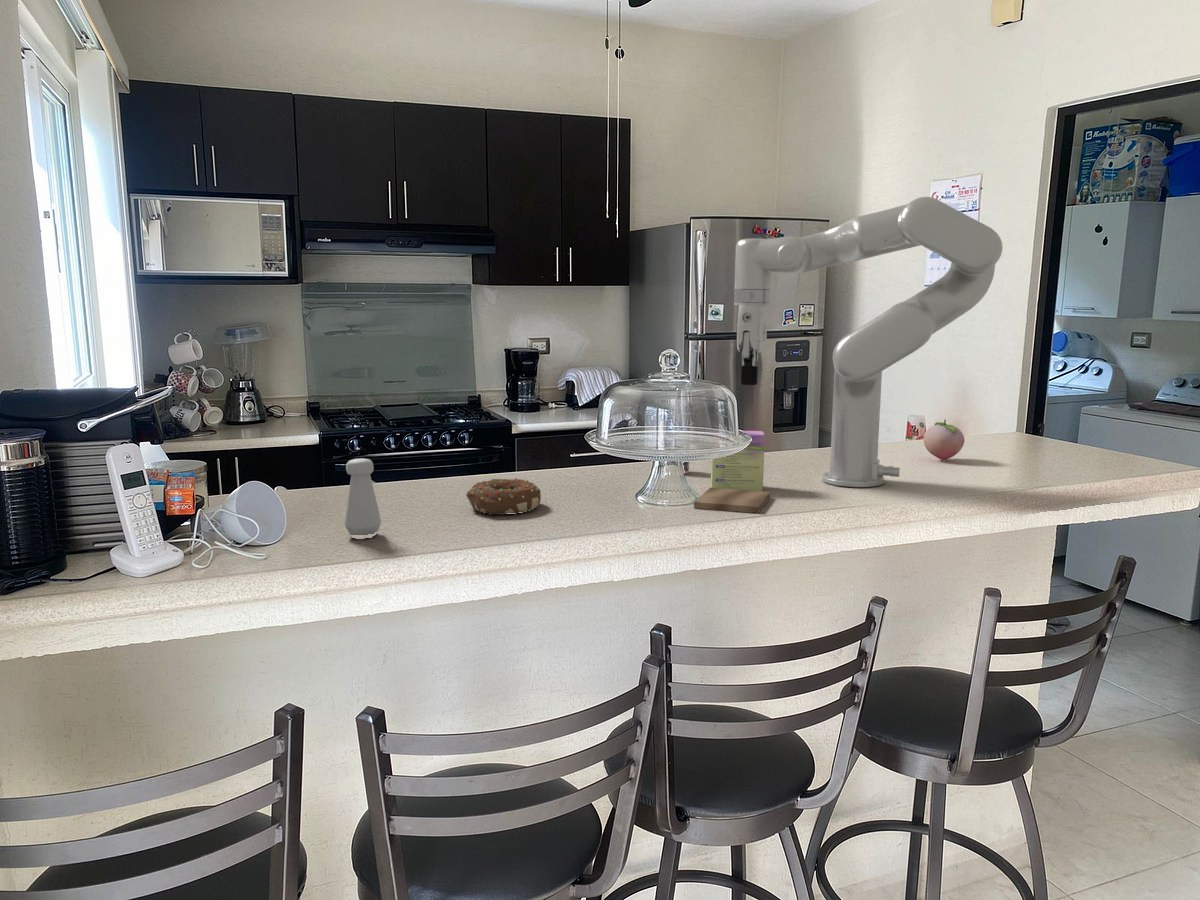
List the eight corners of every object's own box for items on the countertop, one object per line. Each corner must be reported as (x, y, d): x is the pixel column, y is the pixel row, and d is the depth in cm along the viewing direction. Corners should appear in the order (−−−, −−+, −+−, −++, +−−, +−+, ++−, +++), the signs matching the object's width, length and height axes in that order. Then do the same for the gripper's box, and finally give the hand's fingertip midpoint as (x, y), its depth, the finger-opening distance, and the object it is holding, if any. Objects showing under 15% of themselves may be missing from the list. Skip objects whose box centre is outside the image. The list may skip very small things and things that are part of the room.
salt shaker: (338, 537, 141) (333, 460, 138) (365, 530, 145) (360, 455, 143) (362, 543, 137) (357, 464, 135) (388, 534, 142) (384, 458, 140)
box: (760, 485, 178) (762, 429, 176) (763, 491, 172) (764, 434, 170) (710, 485, 179) (711, 429, 177) (711, 491, 173) (712, 433, 171)
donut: (491, 498, 169) (490, 474, 168) (553, 504, 164) (552, 478, 163) (452, 515, 156) (451, 488, 155) (518, 522, 151) (518, 494, 150)
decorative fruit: (914, 458, 206) (916, 417, 204) (943, 456, 208) (945, 416, 207) (939, 465, 197) (941, 423, 196) (969, 463, 199) (972, 421, 198)
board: (770, 497, 166) (770, 491, 166) (758, 513, 154) (758, 506, 154) (710, 493, 171) (710, 487, 170) (693, 508, 159) (694, 501, 158)
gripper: (763, 298, 172) (760, 388, 176) (775, 298, 186) (772, 382, 189) (727, 298, 175) (724, 387, 178) (741, 298, 189) (738, 381, 192)
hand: (749, 384), depth 184 cm, fingers closed
